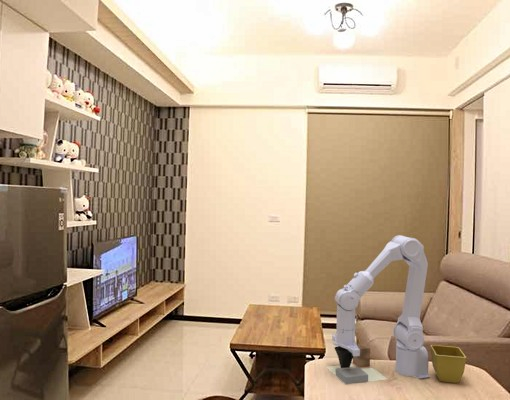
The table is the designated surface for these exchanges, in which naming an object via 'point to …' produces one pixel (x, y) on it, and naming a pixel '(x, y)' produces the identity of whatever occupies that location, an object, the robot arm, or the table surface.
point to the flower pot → (448, 362)
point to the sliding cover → (351, 375)
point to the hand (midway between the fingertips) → (344, 370)
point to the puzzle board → (371, 372)
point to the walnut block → (362, 356)
